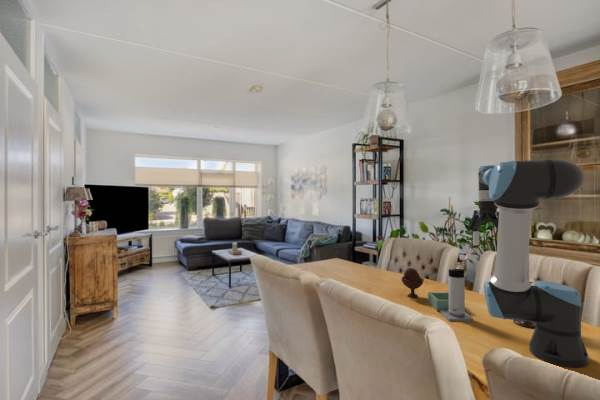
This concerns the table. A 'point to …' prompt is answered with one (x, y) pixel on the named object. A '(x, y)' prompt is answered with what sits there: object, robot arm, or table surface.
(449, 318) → the slate tile
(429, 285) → the table surface
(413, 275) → the ice cream bowl
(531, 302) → the robot arm
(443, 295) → the green frame
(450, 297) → the travel mug
